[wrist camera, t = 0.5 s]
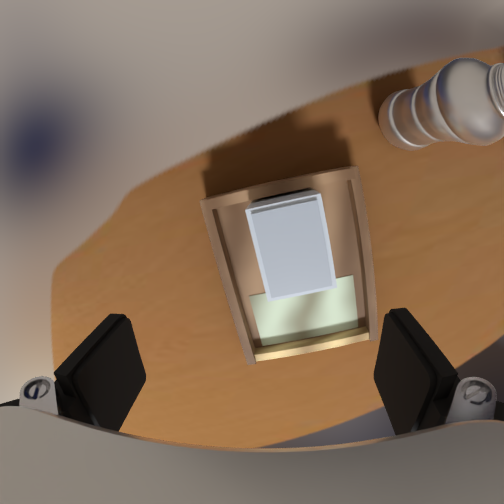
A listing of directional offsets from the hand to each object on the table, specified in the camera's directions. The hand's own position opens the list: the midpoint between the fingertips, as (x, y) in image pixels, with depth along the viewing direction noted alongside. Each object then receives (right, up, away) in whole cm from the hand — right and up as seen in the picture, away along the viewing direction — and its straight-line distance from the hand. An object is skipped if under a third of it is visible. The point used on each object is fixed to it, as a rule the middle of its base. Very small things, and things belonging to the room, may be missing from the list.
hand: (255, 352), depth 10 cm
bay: (+5, +2, +23) cm, 24 cm away
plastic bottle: (+16, +18, +17) cm, 30 cm away
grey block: (+4, +6, +21) cm, 22 cm away
